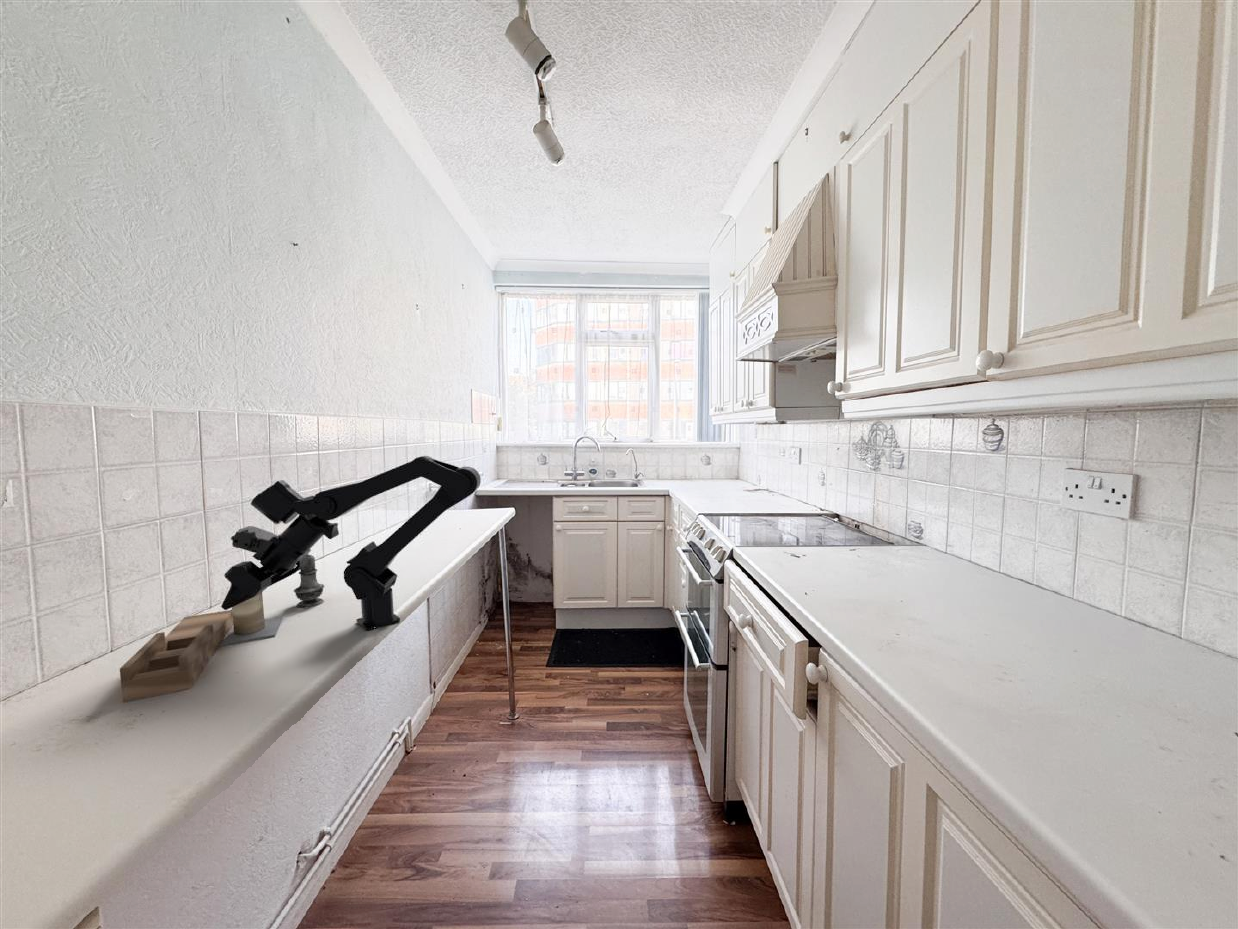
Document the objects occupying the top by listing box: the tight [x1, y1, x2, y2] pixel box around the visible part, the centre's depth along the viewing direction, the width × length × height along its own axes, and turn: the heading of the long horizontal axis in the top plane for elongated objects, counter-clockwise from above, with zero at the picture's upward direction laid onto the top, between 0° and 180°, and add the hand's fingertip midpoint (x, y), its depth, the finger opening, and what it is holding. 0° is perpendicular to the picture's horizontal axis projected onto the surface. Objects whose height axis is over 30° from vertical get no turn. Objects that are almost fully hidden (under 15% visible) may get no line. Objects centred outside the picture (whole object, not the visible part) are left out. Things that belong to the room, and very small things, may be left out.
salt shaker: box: [293, 553, 325, 609], centre depth 109 cm, size 6×6×12 cm
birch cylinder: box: [231, 592, 265, 635], centre depth 94 cm, size 5×5×8 cm
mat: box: [221, 616, 284, 646], centre depth 95 cm, size 10×8×1 cm
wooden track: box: [119, 609, 233, 703], centre depth 84 cm, size 28×8×5 cm, turn 27°
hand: (238, 599), depth 94 cm, fingers open, 9 cm apart
